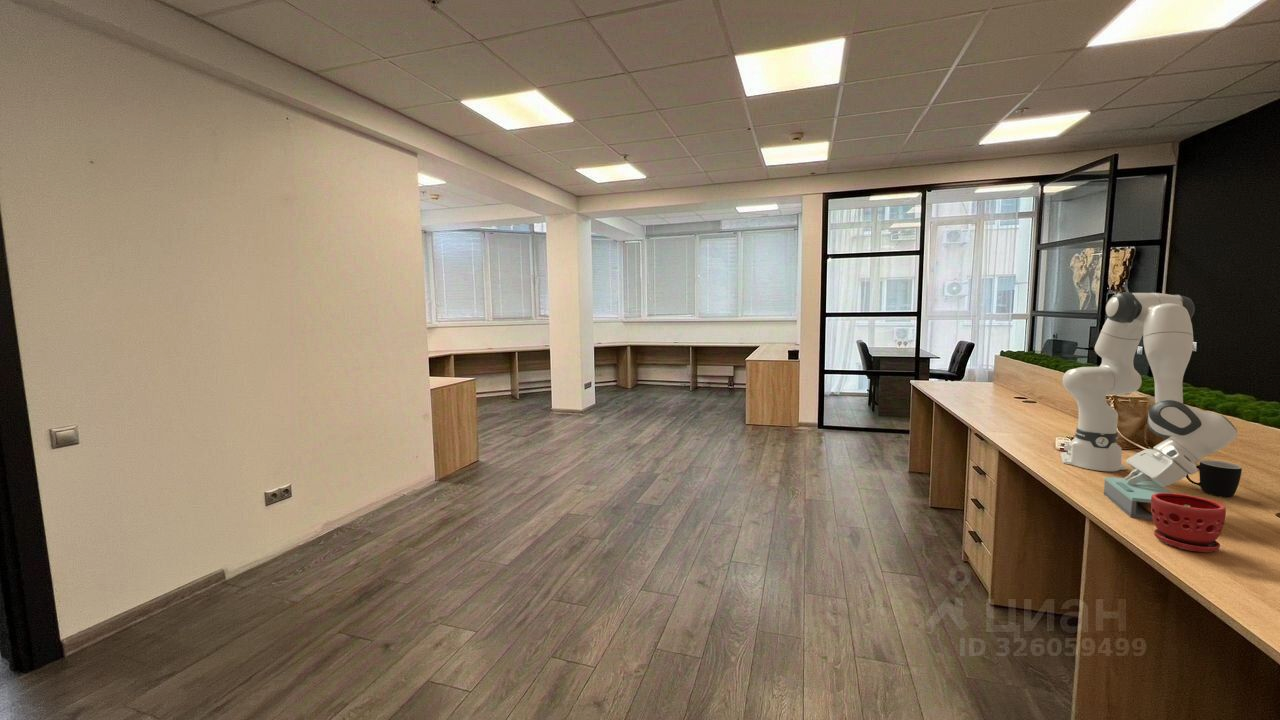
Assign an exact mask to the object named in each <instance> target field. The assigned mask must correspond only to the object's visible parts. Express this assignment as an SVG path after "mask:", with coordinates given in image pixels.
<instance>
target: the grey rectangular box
mask: <svg viewBox="0 0 1280 720" xmlns="http://www.w3.org/2000/svg"><path fill="white" fill-rule="evenodd" d="M1103 495H1104V496H1105V497H1106V496H1107V497H1108V498H1107V497H1106V498H1107V499H1108V500H1110V501H1111V502H1112V503H1113V504H1114V503H1115V506H1117V507H1118V508H1119V509H1121V510H1122V511H1123V512H1124V513H1125V514H1126V515H1127V516H1129V518H1132V519H1133V518H1134V519H1142V520H1149V521H1153V517H1152V511H1151V503H1147V502H1138V501H1132V500H1130V499H1129V498H1128V497H1126V496H1125V495H1124V494H1123V493H1121V492H1120V491H1119V490H1118V489H1116V488H1115V487H1114V486H1112V485H1111V484H1110V483H1109V482H1107V481H1106V480H1105V479H1104V485H1103Z"/></svg>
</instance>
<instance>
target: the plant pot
mask: <svg viewBox="0 0 1280 720" xmlns="http://www.w3.org/2000/svg"><path fill="white" fill-rule="evenodd" d="M1184 505H1189V506H1188V507H1187V506H1184ZM1151 511H1152V517H1153V520H1152V521H1153V523H1154V525H1155V527H1156V529H1154V530H1153V534H1154V536H1155V538H1157V539H1158V540H1159V541H1161V542H1163V543H1165V544H1166V545H1168V544H1169V545H1168V546H1172V547H1175V548H1178V549H1181V550H1187V551H1192V552H1198V553H1211V552H1215V551H1217V550H1219V549H1220V547H1221V544H1220V543H1219V541H1217V539H1219V537H1220V535H1222V532H1223V529H1224V527H1225V522H1226V517H1227V516H1226V515H1227V508H1226V506H1225V505H1223V504H1222V503H1219V502H1217V501H1216V500H1215V501H1214V500H1211V499H1208V498H1203V497H1200V496H1195V495H1194V496H1193V495H1189V494H1182V493H1173V492H1172V493H1156V494H1153V495H1152V496H1151Z"/></svg>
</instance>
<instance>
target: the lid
mask: <svg viewBox="0 0 1280 720" xmlns="http://www.w3.org/2000/svg"><path fill="white" fill-rule="evenodd" d="M1124 478H1125V477H1115V476H1114V477H1113V476H1112V477H1110V476H1105V477H1104V481H1105V480H1106V481H1107V482H1109V483H1110V484H1111V485H1112V486H1114V487H1115V488H1116V489H1118V490H1119V491H1120V492H1121V493H1123V494H1124V495H1125V496H1126V497H1128V498H1129V499H1130V500H1132V501H1138V502H1147V503H1151V496H1152V495H1153V494H1156V493H1173V492H1172V491H1170V490H1169V489H1168V488H1166V487H1165V486H1164V487H1162V486H1160V485H1158V484H1157V483H1155V482H1154V481H1152V480H1149V479H1148V480H1146V481H1143V482H1139V483H1136V484H1134V485H1131V484H1129V483H1128V482H1126V481H1125V480H1124ZM1184 506H1187V507H1190V506H1189V505H1184Z"/></svg>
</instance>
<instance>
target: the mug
mask: <svg viewBox="0 0 1280 720" xmlns="http://www.w3.org/2000/svg"><path fill="white" fill-rule="evenodd" d="M1196 467H1197V469H1198V472H1199V482H1195V481H1194V480H1193V479H1191V478H1190V477H1189V474H1188V475H1187V476H1186V477H1185V478H1186V479H1187V480H1188V482H1190V483H1191V484H1193V485H1196V486H1198V487H1200V489H1201V491H1202V492H1203V493H1204V492H1205V494H1207V493H1208V494H1207V495H1210V494H1212V495H1211V496H1214V495H1216V497H1219V496H1222V497H1221V498H1232V497H1234V495H1235V494H1236V492H1237V490H1238V487H1239V485H1240V480H1241V476H1242V473H1243V472H1242V470H1243V467H1242V466H1240V465H1238V464H1235V463H1231V462H1227V461H1226V462H1225V461H1219V460H1208V459H1203V460H1202V459H1201V460H1200V461H1199V465H1196Z"/></svg>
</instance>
